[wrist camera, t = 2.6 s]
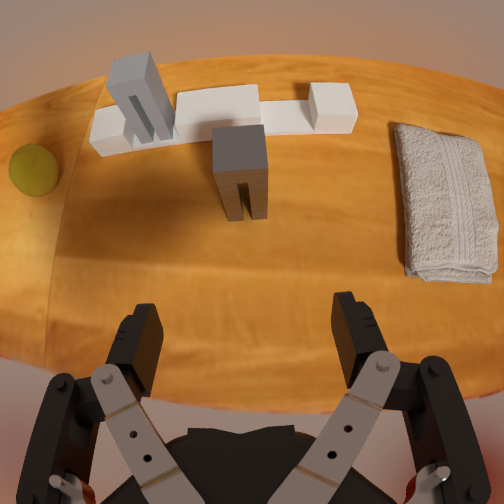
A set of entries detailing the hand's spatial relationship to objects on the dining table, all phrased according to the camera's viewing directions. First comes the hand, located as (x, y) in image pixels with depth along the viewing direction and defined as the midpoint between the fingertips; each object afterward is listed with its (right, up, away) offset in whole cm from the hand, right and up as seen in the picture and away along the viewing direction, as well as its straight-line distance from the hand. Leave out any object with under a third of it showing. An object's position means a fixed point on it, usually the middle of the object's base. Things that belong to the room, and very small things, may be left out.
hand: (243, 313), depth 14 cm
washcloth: (+21, +8, +16) cm, 28 cm away
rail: (-3, +17, +19) cm, 25 cm away
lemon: (-24, +11, +18) cm, 32 cm away
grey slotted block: (0, +8, +16) cm, 18 cm away
